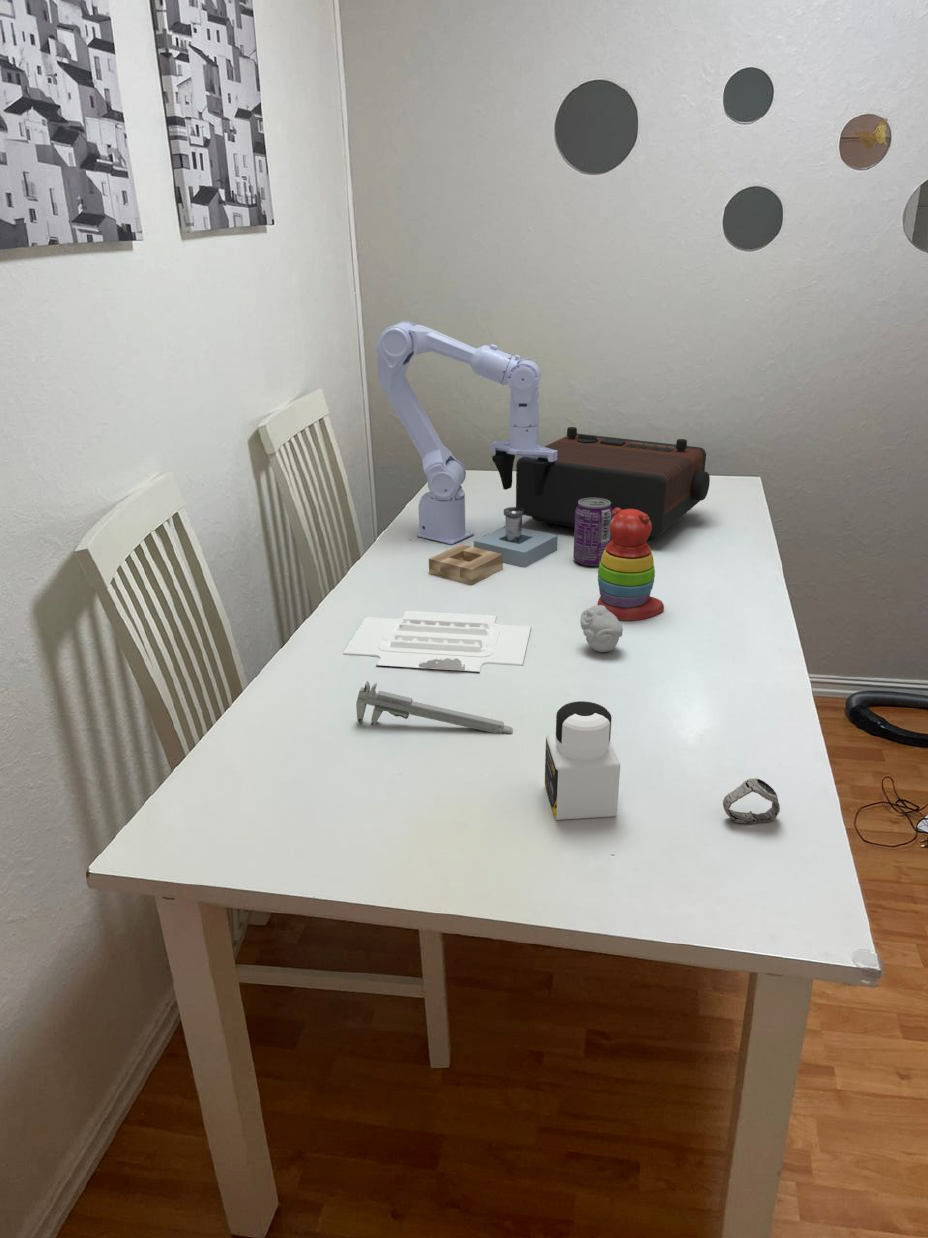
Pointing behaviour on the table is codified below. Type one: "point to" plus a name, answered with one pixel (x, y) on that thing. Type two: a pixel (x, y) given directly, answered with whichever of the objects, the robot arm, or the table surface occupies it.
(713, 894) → the table surface
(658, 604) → the stacking bear
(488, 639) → the tray
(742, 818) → the wristwatch
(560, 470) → the radio receiver
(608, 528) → the beverage can
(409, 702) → the caliper
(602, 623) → the frog figurine
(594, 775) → the medicine bottle
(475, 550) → the mount
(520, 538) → the pin
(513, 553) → the dock
